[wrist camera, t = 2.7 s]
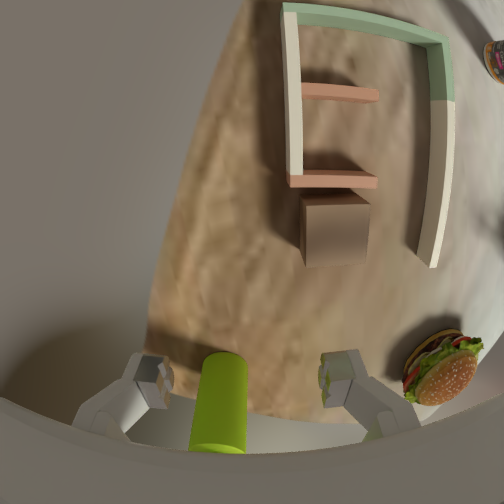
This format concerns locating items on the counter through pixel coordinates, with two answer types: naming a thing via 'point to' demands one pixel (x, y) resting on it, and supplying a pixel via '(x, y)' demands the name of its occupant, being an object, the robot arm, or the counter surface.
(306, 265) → the block
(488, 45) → the pill bottle
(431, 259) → the box
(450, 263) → the counter surface
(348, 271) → the counter surface
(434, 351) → the food
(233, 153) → the counter surface
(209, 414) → the soap dispenser
